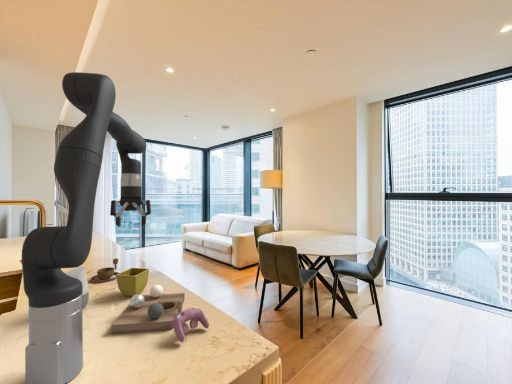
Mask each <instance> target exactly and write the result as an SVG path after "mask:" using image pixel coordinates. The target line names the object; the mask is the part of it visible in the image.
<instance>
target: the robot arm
mask: <svg viewBox="0 0 512 384" xmlns="http://www.w3.org/2000/svg"><path fill="white" fill-rule="evenodd" d="M61 85H62V86H61V87H62V90H63V91H62V92H63V95H64V96H65V97H66V99H67V100H68V101H69V102H70V104H71V105H72V106H74V107H75V109H77V110H79V111H80V112H81V113H83V114H84V115H85V117H84V118H83V120H82V121H80V122H79V123H78V124H77V125H76V126H75V127H73V129H71V130H70V131H69V132H68V133H66V135H65V136H64V137H63V138H62V139H61V141H60V143H59V145H58V147H57V152H56V156H55V159H54V164H53V172H54V176H55V179H56V181H57V183H58V185H59V186H60V188H61V190H62V192H63V194H64V196H65V198H66V200H67V205H68V206H67V207H68V214H67V222H66V225H63V226H60V225H59V226H54V225H53V226H39V227H37V228H34V229H33V230H31V231H30V232H29V233H28V234H27V235H26V237H25V239H24V240H23V244H22V248H21V268H22V279H23V290H24V293H25V296H26V297H27V299H28V344H27V345H26V346H25V348H24V351H25V352H24V354H25V355H24V359H25V367H24V368H25V369H24V370H25V373H24V374H25V381H24V382H25V384H65V383H66V384H67V383H69V382H71V381H72V380H73V379H74V378H76V377H77V376H78V375H79V374H80V373H81V372H82V370H83V367H84V348H83V347H84V344H83V343H84V341H83V340H84V337H83V335H84V332H83V331H84V330H83V329H84V328H83V327H84V326H83V324H84V323H83V309H82V306H83V300H82V292H83V287H82V282H81V281H80V280H79V279H76V278H73V277H71V276H69V275H67V274H65V273H66V272H64V271H63V270H62V269H76V268H79V267H82V266H83V264H84V263H85V262H86V261H87V259H88V257H89V254H90V251H91V248H92V242H93V231H94V215H95V201H96V197H97V189H98V185H99V180H100V179H99V178H100V174H101V169H102V163H103V158H104V151H105V149H104V148H105V142H106V139H107V133H108V134H109V135H110V136H111V138H112V139H114V141H116V142H115V144H116V145H115V146H116V150H117V152H118V155H119V159H120V163H121V164H120V165H121V167H120V168H121V171H120V172H121V175H120V199H119V200H116V199H113V200H111V201H110V209H109V210H110V213H109V215H110V216H112V217H114V218H115V225H116V226H117V227H119V228H120V227H121V226H122V217H121V216H122V215H123V214H124V213H125V211H126V212H129V211H130V212H131V211H132V212H135V211H137V212H138V213H139V214H140V215H141V227H143V226H145V225H146V224H147V216H149V215H151V214H152V209H151V208H152V207H151V205H152V204H151V199H146V200H143V196H142V195H143V192H142V191H143V187H142V186H143V179H142V163H141V161H140V160H138V159H136V158H131V157H130V156H129V154H131V155H133V154H135V155H137V154H139V155H140V154H143V153H144V152H146V150H147V142H146V140H145V138H144V137H143V136H142V135H141V134H140V133H138V132H137V131H136V130H134V129H132V128H131V126H130V125H129V124H128V122H127V121H126V120H125V119H124V118H123V117H122V116H120V115H119V114H117V113H116V112H114V107H115V103H116V95H117V93H116V92H117V91H116V87H115V83H114V81H113V80H112V78H111V77H109V76H108V75H105V74H103V73H95V72H94V73H93V72H91V73H90V72H76V71H75V72H68V73H66V74H64V75H63V78H62V82H61ZM143 204H144V206H146V212H145V210H144V208H142V205H143ZM118 205H120V208H119V210H118V212H116V209H117V207H118Z"/></svg>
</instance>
